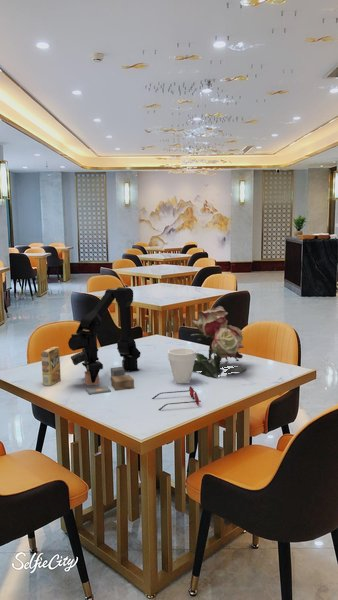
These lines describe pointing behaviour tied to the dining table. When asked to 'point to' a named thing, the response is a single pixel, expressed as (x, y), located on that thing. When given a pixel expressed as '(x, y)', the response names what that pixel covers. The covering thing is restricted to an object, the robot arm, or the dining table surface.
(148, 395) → the dining table surface
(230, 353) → the rose bouquet
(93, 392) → the card
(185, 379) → the cup
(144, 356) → the dining table surface
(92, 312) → the robot arm
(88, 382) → the terracotta block
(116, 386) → the walnut block
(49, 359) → the candy box
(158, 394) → the glasses
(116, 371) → the charcoal block
